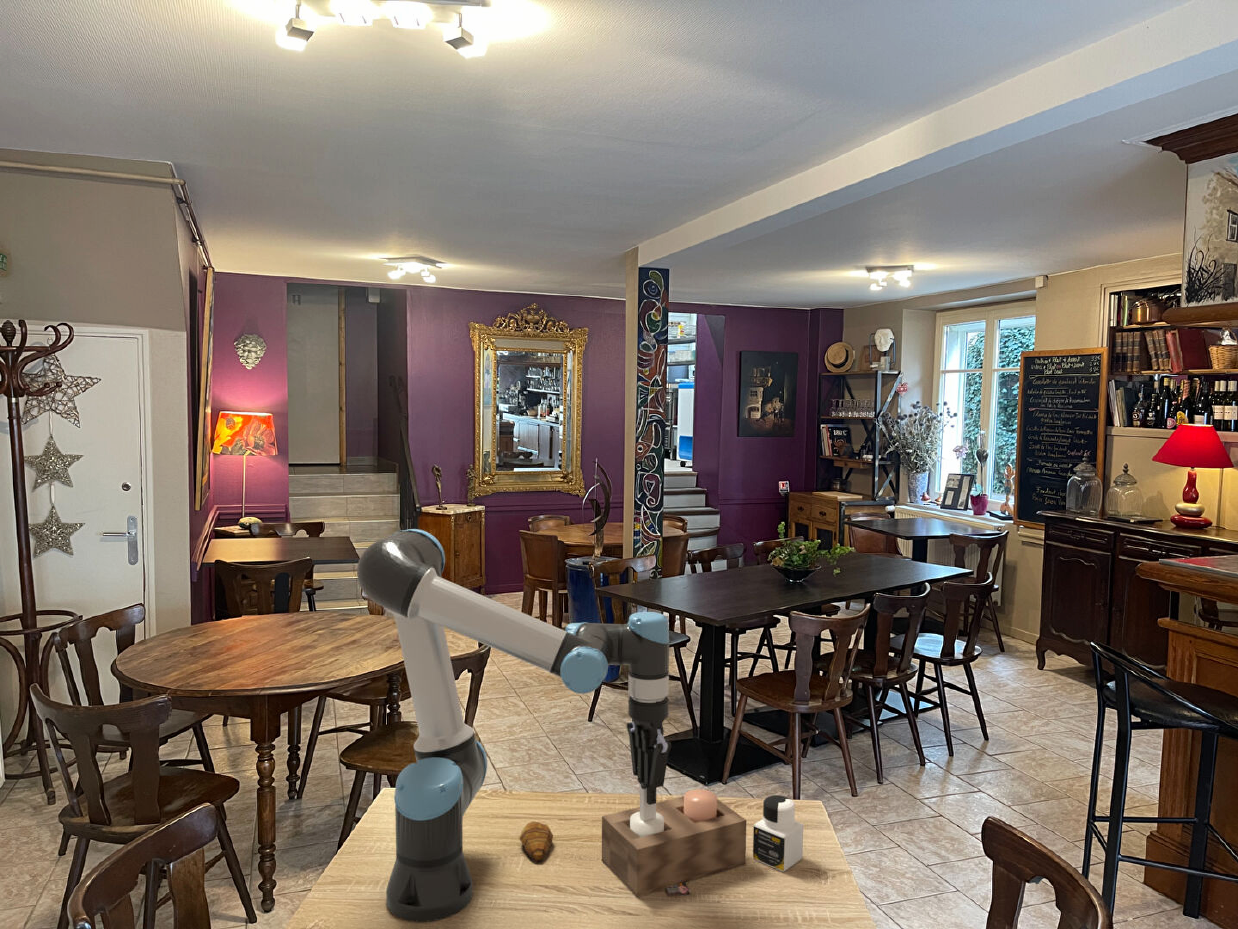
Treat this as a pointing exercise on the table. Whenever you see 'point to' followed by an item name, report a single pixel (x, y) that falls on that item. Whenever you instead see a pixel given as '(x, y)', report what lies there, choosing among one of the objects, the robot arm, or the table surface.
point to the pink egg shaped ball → (700, 805)
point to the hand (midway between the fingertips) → (647, 817)
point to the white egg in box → (646, 825)
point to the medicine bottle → (778, 834)
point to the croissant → (536, 840)
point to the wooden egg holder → (672, 847)
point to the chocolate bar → (677, 890)
